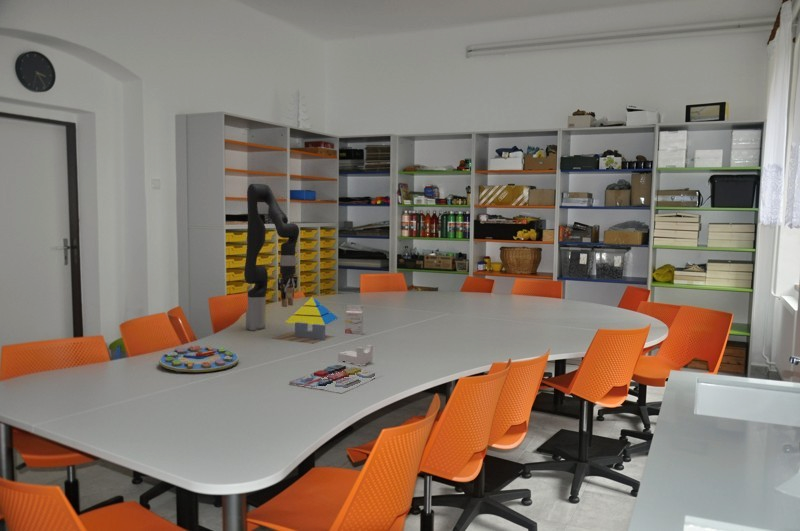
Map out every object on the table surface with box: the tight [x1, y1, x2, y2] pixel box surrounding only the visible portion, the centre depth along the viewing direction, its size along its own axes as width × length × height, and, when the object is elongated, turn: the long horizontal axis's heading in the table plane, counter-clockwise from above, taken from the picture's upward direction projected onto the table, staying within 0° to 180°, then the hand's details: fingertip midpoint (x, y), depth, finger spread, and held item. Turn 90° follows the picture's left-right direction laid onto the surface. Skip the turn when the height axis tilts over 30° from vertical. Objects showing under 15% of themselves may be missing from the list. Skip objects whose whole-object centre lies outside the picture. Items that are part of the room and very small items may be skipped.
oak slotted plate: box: [281, 286, 294, 308], centre depth 315 cm, size 2×6×9 cm, turn 155°
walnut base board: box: [270, 331, 336, 345], centre depth 313 cm, size 24×20×1 cm
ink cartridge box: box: [344, 304, 364, 336], centre depth 328 cm, size 9×5×15 cm, turn 84°
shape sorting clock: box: [158, 345, 240, 374], centre depth 259 cm, size 31×30×6 cm
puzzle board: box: [288, 364, 376, 388], centre depth 241 cm, size 30×23×3 cm
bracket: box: [337, 344, 374, 366], centre depth 269 cm, size 13×7×8 cm, turn 52°
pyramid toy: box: [285, 296, 339, 326], centre depth 367 cm, size 25×25×14 cm
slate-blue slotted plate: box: [294, 322, 326, 341], centre depth 311 cm, size 16×2×7 cm, turn 65°
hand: (287, 298), depth 315 cm, fingers closed on oak slotted plate, 6 cm apart
